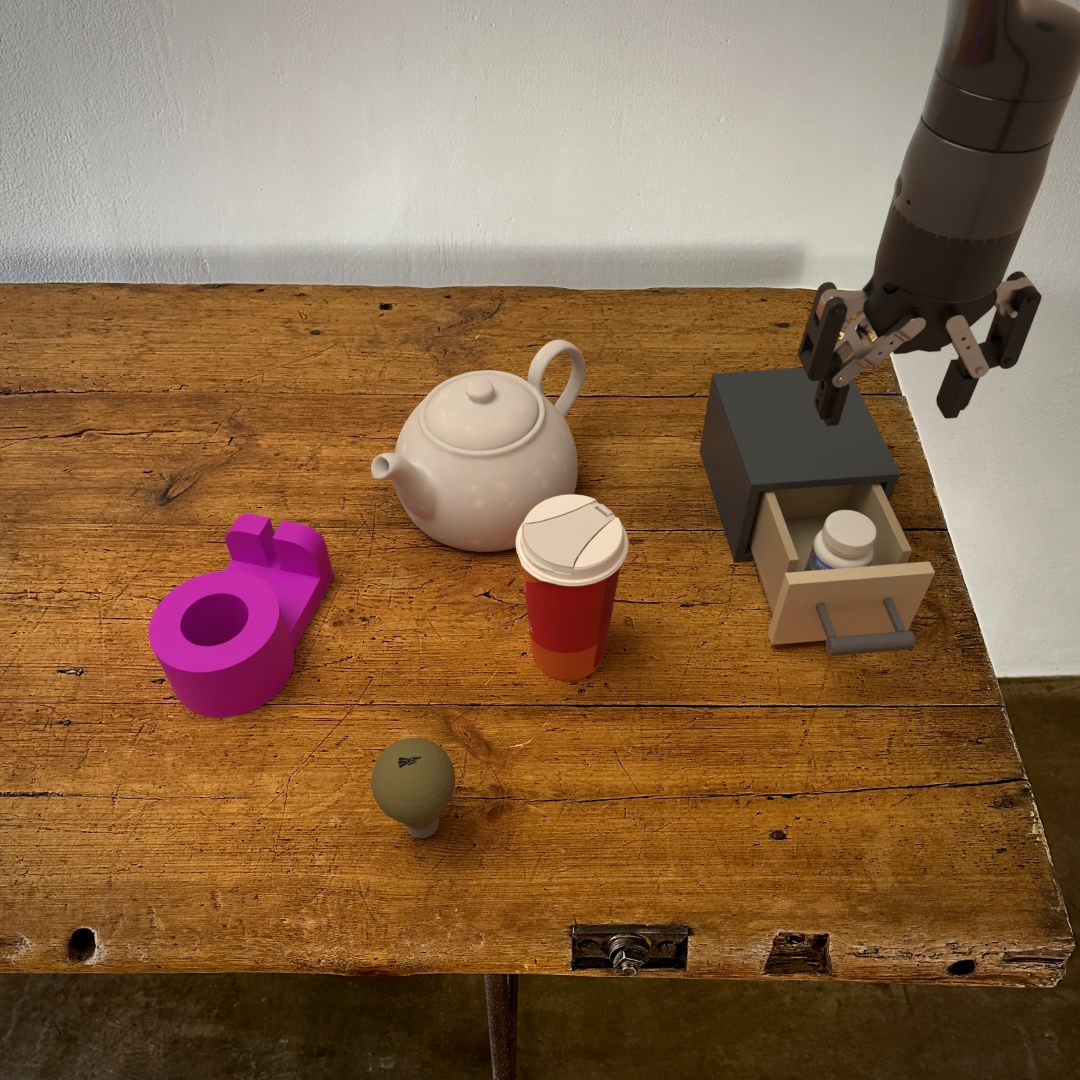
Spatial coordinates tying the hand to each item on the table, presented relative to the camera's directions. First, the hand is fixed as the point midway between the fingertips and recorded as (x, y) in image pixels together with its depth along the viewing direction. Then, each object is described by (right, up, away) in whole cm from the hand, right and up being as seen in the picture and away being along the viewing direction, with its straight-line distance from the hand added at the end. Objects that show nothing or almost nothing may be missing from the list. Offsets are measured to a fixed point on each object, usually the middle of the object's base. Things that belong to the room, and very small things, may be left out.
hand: (887, 414), depth 68 cm
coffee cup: (-22, -18, +13) cm, 31 cm away
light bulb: (-33, -30, +2) cm, 45 cm away
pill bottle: (0, -14, +14) cm, 20 cm away
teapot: (-29, -4, +25) cm, 39 cm away
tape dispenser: (-49, -17, +14) cm, 54 cm away
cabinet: (-1, -5, +25) cm, 25 cm away
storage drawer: (0, -14, +15) cm, 21 cm away
